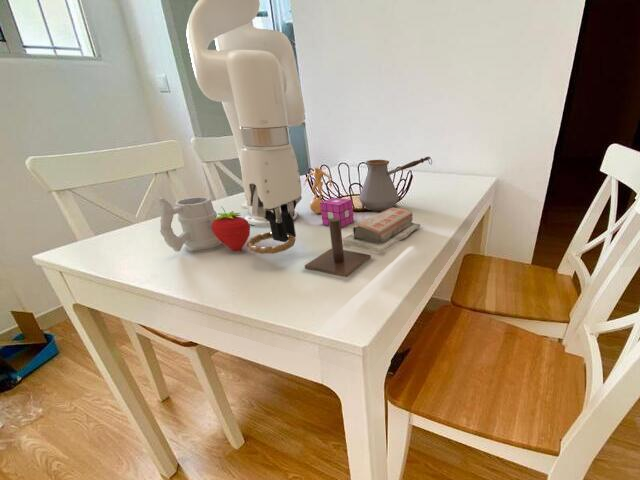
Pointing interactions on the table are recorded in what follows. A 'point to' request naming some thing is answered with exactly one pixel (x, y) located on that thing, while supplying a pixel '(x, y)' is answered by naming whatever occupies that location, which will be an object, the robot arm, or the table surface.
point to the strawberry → (231, 230)
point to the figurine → (318, 176)
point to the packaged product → (382, 230)
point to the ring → (269, 250)
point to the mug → (189, 223)
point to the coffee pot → (382, 185)
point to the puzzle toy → (337, 211)
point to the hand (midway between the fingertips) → (284, 237)
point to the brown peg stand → (337, 255)
